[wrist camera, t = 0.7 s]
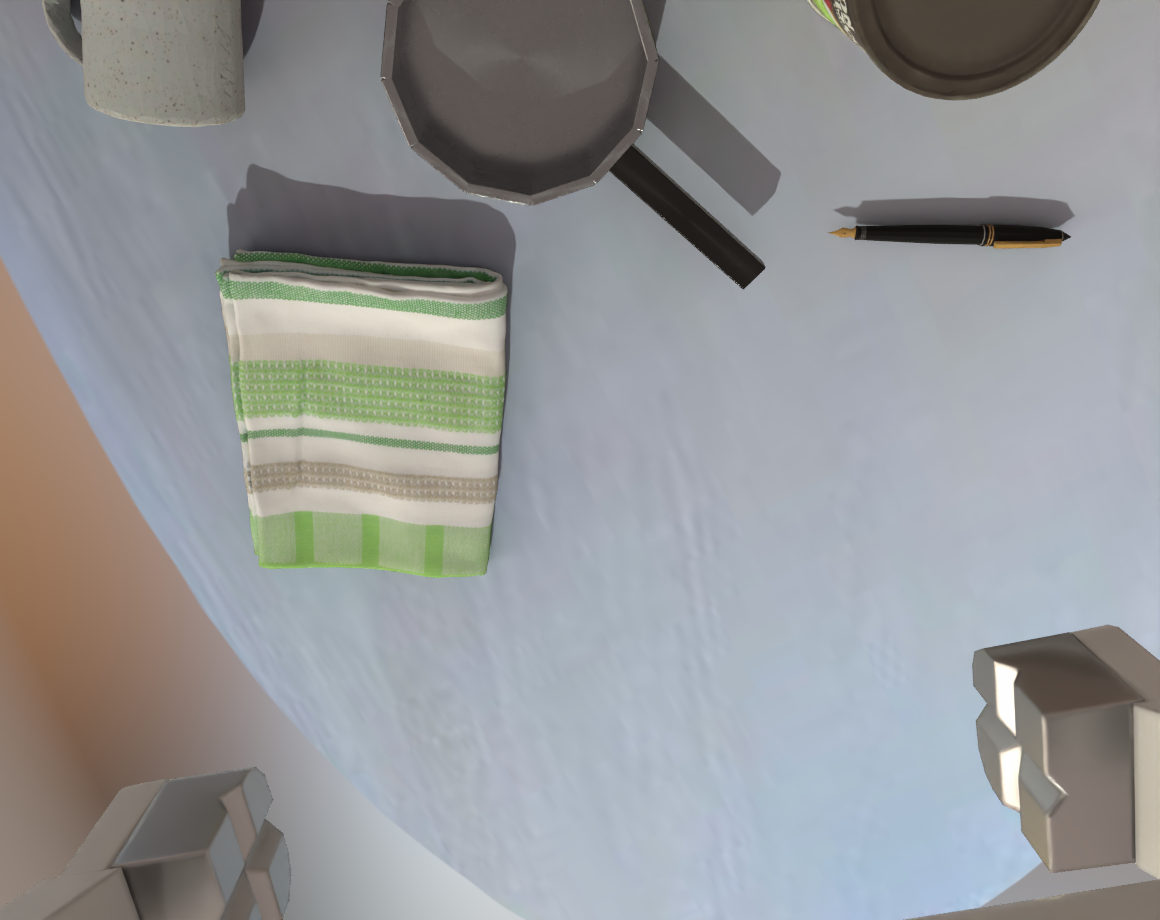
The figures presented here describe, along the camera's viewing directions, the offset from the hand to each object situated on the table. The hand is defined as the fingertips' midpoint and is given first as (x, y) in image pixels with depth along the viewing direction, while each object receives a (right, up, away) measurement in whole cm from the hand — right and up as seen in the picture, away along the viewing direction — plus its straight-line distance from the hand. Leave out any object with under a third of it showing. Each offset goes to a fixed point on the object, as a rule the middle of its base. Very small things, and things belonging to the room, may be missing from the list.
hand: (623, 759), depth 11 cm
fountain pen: (+21, +17, +48) cm, 56 cm away
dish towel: (-14, +6, +55) cm, 58 cm away
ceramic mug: (-22, +27, +42) cm, 55 cm away
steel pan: (0, +22, +45) cm, 50 cm away
